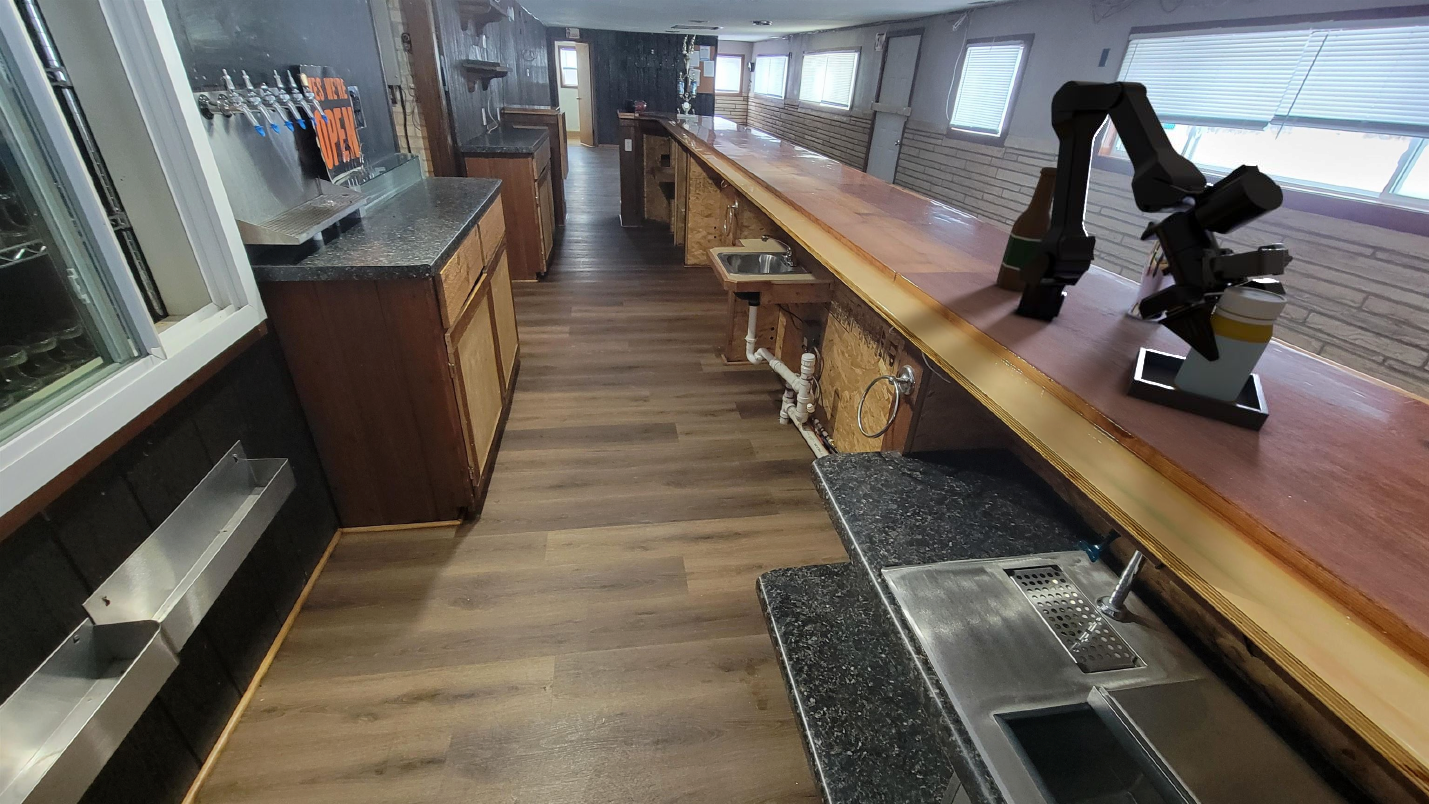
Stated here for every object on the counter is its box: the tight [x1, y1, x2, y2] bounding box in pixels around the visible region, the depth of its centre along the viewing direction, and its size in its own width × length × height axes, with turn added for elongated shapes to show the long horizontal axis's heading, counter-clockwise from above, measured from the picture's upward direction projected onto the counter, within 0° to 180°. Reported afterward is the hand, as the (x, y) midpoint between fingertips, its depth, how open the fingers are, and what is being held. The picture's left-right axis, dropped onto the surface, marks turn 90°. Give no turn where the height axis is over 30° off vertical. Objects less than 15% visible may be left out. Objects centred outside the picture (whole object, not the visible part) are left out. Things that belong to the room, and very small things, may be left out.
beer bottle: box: [996, 166, 1057, 293], centre depth 116 cm, size 8×8×24 cm
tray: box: [1126, 346, 1270, 432], centre depth 80 cm, size 15×15×2 cm
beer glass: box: [1126, 240, 1175, 323], centre depth 105 cm, size 7×7×15 cm
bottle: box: [1172, 285, 1288, 403], centre depth 75 cm, size 7×7×15 cm
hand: (1233, 358), depth 74 cm, fingers closed on bottle, 6 cm apart
